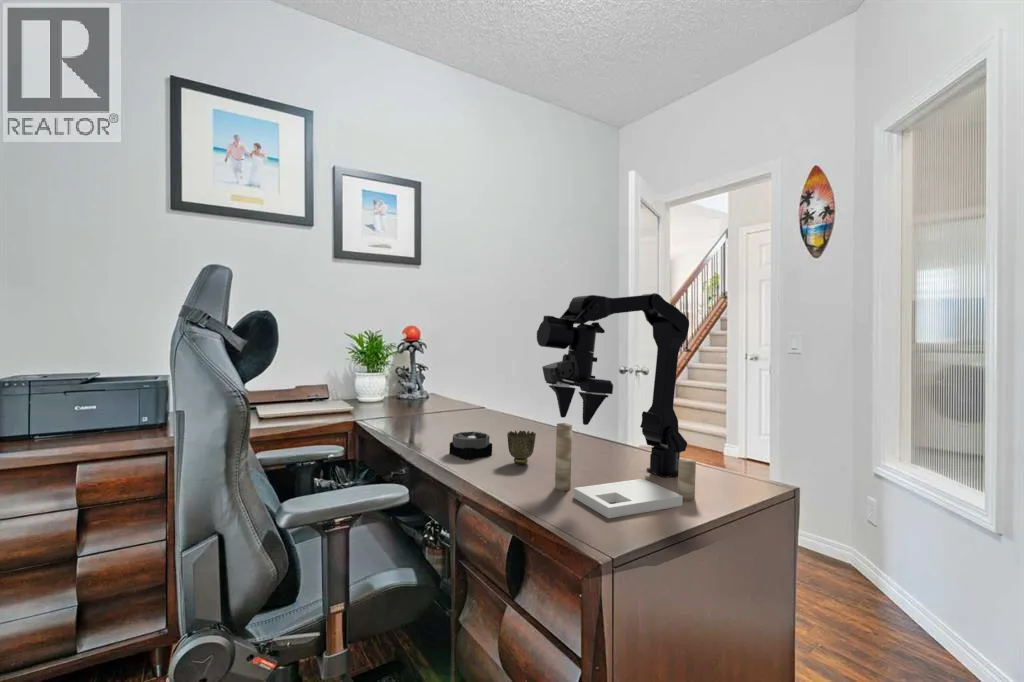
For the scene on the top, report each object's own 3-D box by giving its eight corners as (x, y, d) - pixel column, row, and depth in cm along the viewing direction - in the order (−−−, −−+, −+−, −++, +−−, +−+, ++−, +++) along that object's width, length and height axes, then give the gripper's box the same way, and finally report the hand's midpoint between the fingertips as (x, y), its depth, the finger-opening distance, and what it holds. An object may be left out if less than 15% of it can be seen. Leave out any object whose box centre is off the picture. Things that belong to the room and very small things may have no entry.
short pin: (686, 495, 103) (687, 457, 103) (698, 500, 100) (699, 461, 100) (673, 496, 102) (675, 459, 102) (685, 502, 99) (687, 463, 99)
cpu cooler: (467, 440, 125) (445, 433, 133) (466, 462, 125) (444, 454, 133) (497, 435, 132) (474, 429, 140) (496, 456, 132) (474, 449, 140)
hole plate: (642, 487, 107) (642, 478, 107) (682, 505, 97) (682, 495, 96) (573, 497, 100) (573, 488, 100) (608, 518, 89) (608, 507, 89)
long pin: (565, 485, 108) (567, 422, 108) (573, 489, 105) (575, 425, 105) (552, 486, 106) (553, 423, 106) (560, 491, 103) (561, 426, 103)
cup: (508, 458, 129) (509, 429, 129) (536, 460, 128) (536, 430, 128) (504, 466, 121) (505, 435, 121) (533, 468, 120) (534, 436, 120)
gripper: (530, 346, 113) (522, 412, 112) (573, 349, 96) (564, 427, 96) (570, 350, 117) (563, 414, 117) (618, 354, 101) (610, 429, 100)
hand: (573, 420), depth 107 cm, fingers open, 9 cm apart
